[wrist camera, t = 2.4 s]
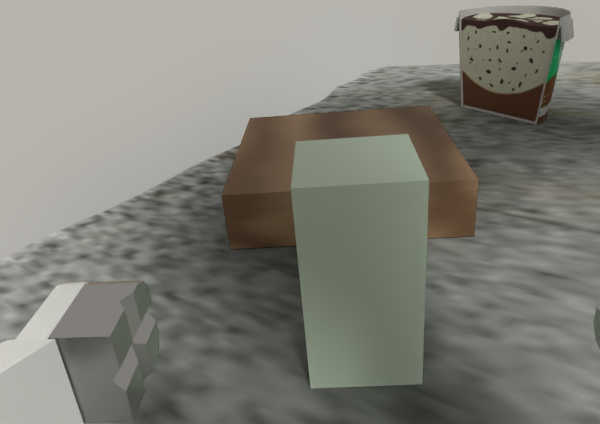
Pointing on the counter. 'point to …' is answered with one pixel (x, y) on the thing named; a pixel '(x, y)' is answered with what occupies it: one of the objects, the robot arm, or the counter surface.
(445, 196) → the walnut base
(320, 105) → the counter surface
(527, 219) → the counter surface
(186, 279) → the counter surface
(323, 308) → the sage block
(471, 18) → the food container
